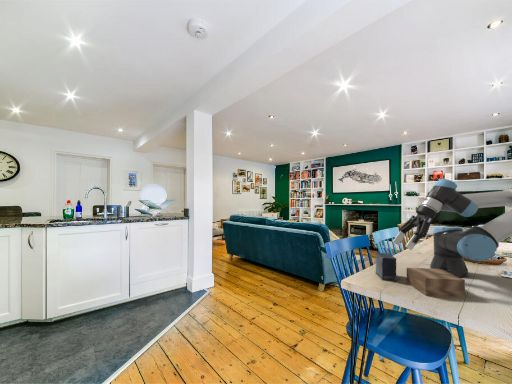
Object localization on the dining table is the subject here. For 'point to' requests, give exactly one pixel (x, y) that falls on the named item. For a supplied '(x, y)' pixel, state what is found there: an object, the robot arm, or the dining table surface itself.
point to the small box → (386, 266)
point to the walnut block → (436, 282)
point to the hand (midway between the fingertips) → (401, 245)
